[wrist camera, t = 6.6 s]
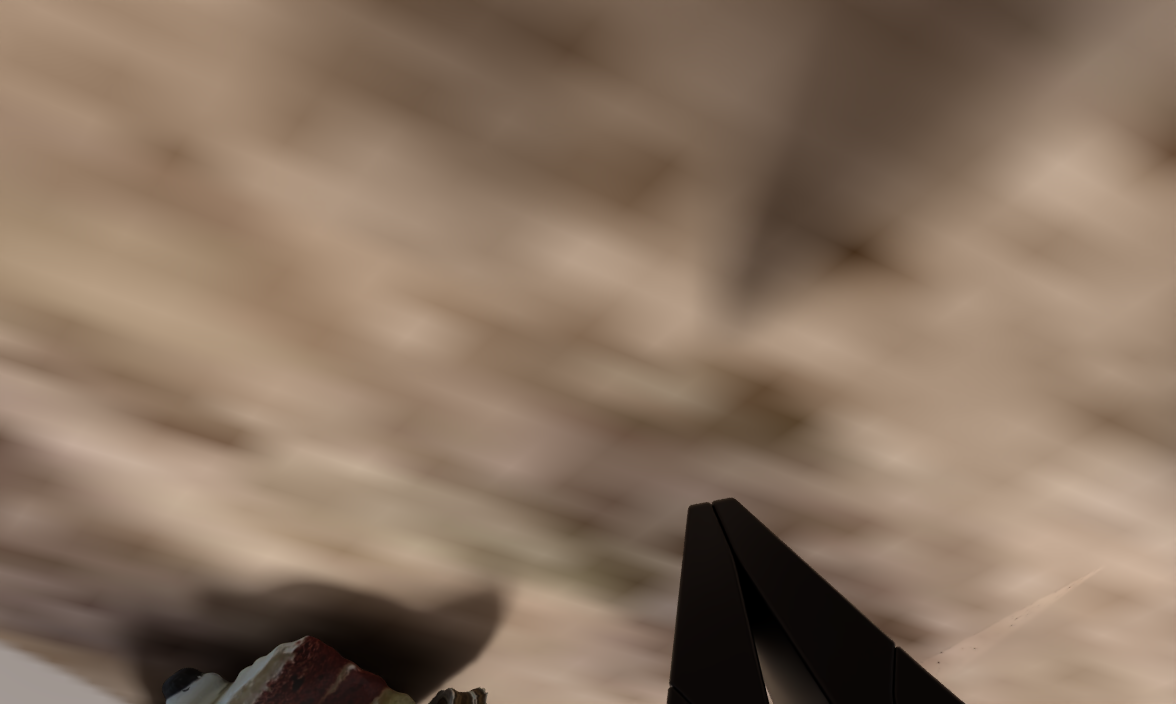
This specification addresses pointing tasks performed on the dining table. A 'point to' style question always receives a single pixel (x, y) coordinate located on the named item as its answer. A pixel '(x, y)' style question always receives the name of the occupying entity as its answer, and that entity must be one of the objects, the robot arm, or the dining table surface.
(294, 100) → the dining table surface
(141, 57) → the dining table surface
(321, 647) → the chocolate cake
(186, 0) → the dining table surface
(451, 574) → the dining table surface
